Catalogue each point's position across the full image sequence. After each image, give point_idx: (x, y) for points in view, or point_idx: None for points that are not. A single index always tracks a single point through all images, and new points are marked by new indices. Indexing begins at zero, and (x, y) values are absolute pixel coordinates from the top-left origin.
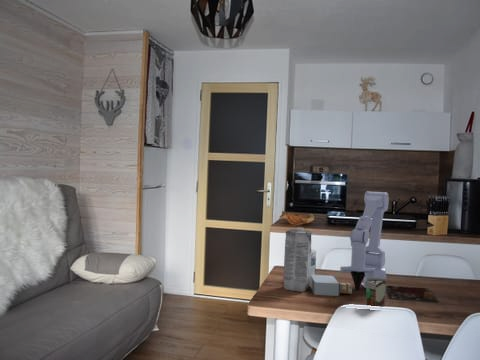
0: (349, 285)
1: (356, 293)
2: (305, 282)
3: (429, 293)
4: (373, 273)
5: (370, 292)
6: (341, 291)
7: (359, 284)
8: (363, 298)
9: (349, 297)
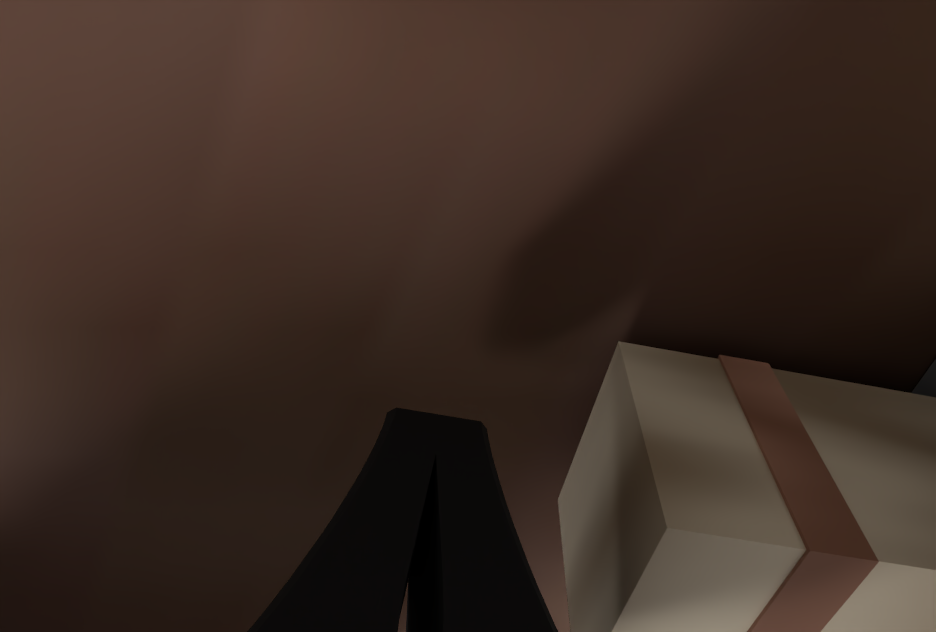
0: (758, 529)
1: None
2: None
3: None
4: None
5: None
6: (907, 412)
7: (371, 531)
8: (394, 22)
9: (801, 131)
